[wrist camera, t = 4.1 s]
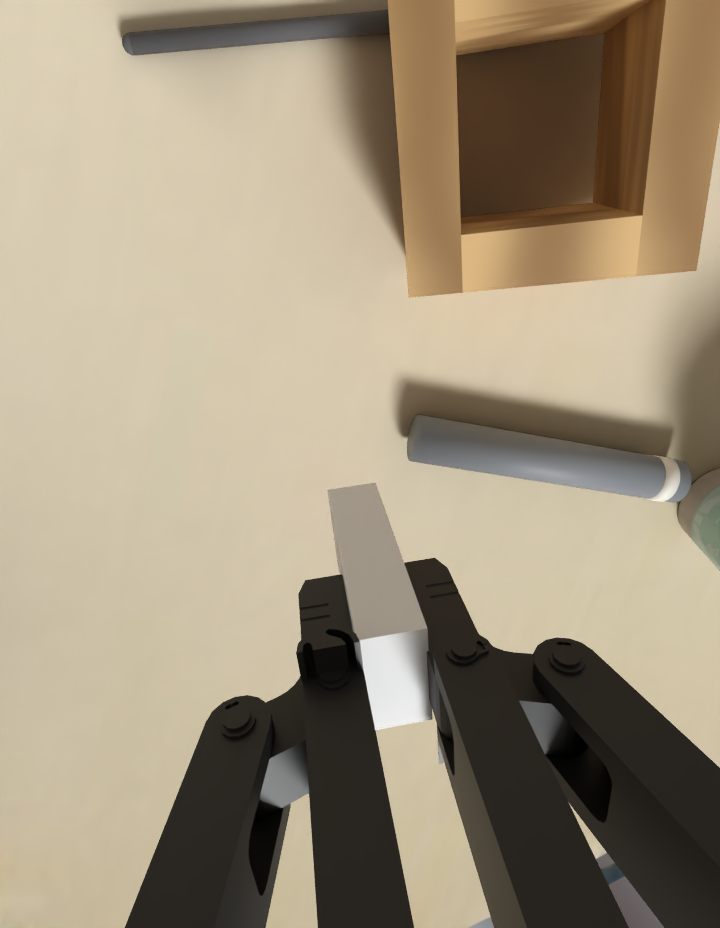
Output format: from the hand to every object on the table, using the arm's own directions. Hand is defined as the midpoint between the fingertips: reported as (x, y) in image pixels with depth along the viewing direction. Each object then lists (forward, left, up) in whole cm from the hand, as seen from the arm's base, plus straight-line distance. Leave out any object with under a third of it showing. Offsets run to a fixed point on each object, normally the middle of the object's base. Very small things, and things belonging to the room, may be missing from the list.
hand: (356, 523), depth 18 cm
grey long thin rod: (+2, +16, -17) cm, 23 cm away
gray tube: (+5, -4, -15) cm, 16 cm away
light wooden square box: (+11, +11, -15) cm, 22 cm away
